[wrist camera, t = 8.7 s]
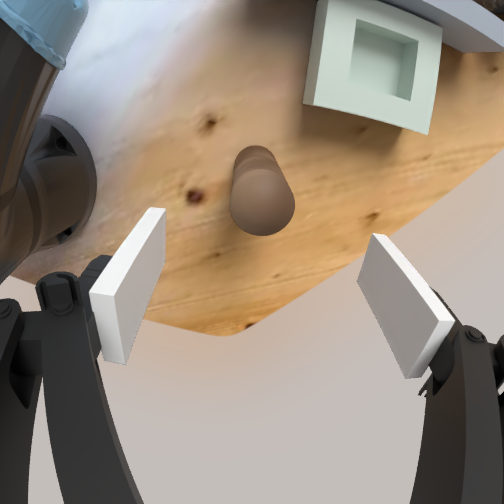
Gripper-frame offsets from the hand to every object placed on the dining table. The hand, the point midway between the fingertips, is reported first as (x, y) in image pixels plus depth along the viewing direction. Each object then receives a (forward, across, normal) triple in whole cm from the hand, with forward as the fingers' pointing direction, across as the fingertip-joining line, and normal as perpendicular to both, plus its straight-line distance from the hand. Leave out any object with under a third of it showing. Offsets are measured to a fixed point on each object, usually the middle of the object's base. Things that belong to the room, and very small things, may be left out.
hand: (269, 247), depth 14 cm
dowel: (+18, 0, 0) cm, 18 cm away
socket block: (+18, +9, +12) cm, 23 cm away
